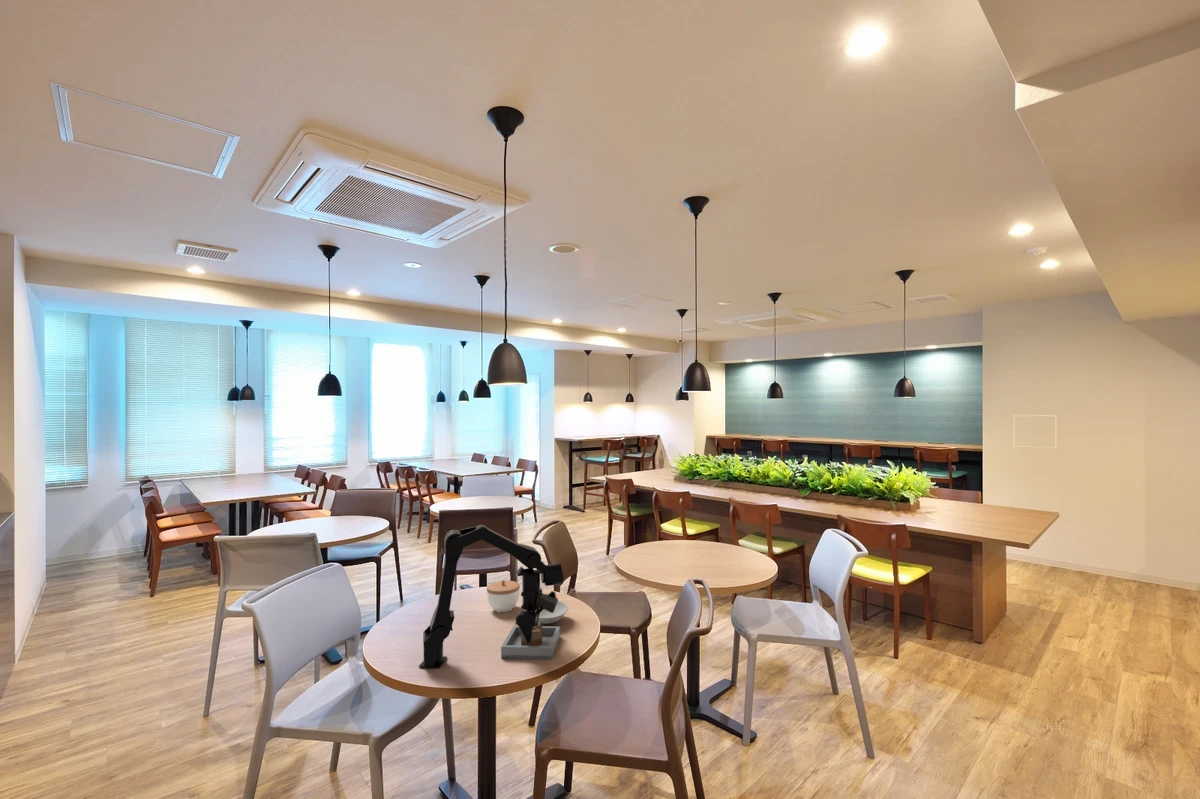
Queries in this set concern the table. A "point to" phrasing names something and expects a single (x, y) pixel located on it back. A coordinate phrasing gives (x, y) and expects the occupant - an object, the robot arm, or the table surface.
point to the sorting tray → (545, 651)
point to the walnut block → (533, 637)
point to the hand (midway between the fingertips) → (531, 636)
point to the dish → (556, 615)
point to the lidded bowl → (503, 595)
